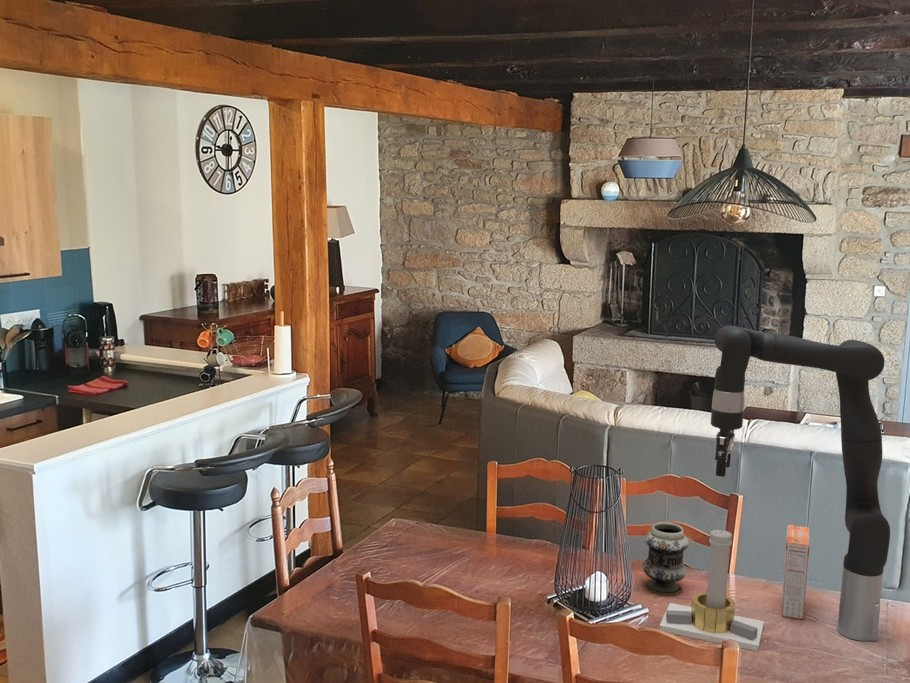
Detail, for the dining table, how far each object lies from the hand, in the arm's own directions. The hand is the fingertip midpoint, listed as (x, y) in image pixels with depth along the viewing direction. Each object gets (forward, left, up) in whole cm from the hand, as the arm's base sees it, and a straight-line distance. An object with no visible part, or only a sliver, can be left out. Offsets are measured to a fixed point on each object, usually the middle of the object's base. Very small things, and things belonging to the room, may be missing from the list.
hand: (722, 471), depth 228 cm
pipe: (0, 0, -41) cm, 41 cm away
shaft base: (0, 0, -42) cm, 42 cm away
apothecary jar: (+16, -19, -42) cm, 49 cm away
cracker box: (-18, -22, -42) cm, 51 cm away
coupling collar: (0, 0, -40) cm, 40 cm away
